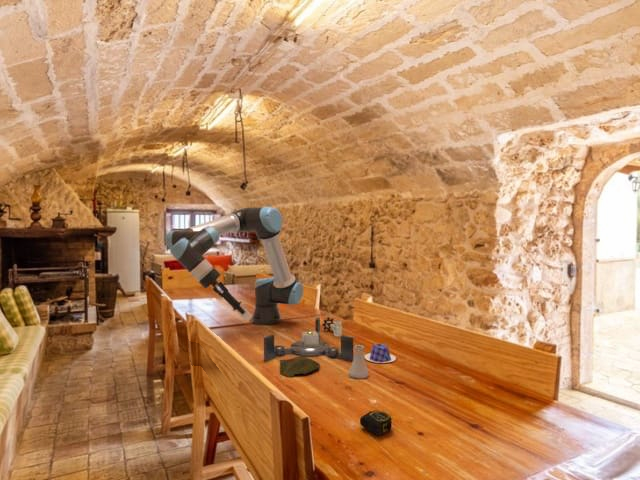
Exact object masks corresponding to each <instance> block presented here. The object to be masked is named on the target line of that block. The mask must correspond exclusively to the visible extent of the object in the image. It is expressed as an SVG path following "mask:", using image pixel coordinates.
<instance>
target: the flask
mask: <svg viewBox="0 0 640 480" xmlns="http://www.w3.org/2000/svg"><path fill="white" fill-rule="evenodd" d="M353 349H354V355H353V361H352V362H351V366H350V368H349V371H348V377H350V378H353V379H366V378H368V377H369V376H370V374H369V371H368V367H367V365H366V361H365V357H364V350H363V349H364V345H360V344H358V345H357V344H356V345H353Z"/></svg>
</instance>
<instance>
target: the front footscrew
mask: <svg viewBox="0 0 640 480" xmlns="http://www.w3.org/2000/svg"><path fill="white" fill-rule="evenodd" d="M285 349H286V348H285V346H284V345H275V334H270V335H267V336H264V337H263V362H269V361H270V360H273V359H275V358H277V357H283V356H285V355H286V354H285Z"/></svg>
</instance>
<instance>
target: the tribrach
mask: <svg viewBox="0 0 640 480" xmlns="http://www.w3.org/2000/svg"><path fill="white" fill-rule="evenodd" d="M285 355H294V356H297V357H306V358H309V357H310V358H311V357H312V358H313V357H315V358H316V357H320V356H321V357H322V356H326V357H328V358H330V359H339V360H344V361H348V362H350V363H352V362H353V359H354V337H353V336H349V335H344V334H342V335H341V336H340V347H337V346H330V344H329V343H328V342H327V341H324V340H321V317H320V316H317V317H316V318H315V330H313V331H312V330H310V331H309V330H308V331H301V340H298V341H295V342H293V343H291V344H290V348H285Z"/></svg>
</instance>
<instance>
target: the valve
mask: <svg viewBox="0 0 640 480" xmlns="http://www.w3.org/2000/svg"><path fill="white" fill-rule="evenodd" d="M323 322H324V323H322V324H321V325H322V326H323V330H324V331H326V330H327V331H328V332H330V331H331V330H332V331H333V337H336V338H337V337H340V338H341V335H343V333H342V331H343V326H342V325H343V324H342V323H343V322H342V321H340V320H335V319H334V318H330V316H329V317H327V318H326V319H323Z"/></svg>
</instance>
